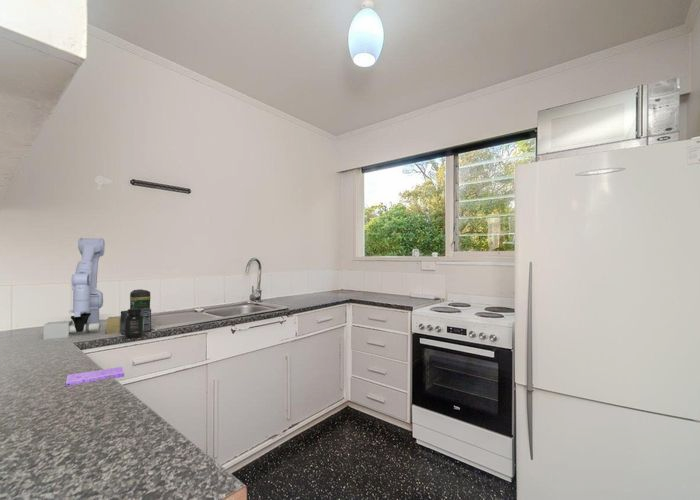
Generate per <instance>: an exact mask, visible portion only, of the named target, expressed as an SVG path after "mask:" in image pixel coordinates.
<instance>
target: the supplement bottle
mask: <svg viewBox="0 0 700 500" xmlns="http://www.w3.org/2000/svg"><path fill="white" fill-rule="evenodd" d="M127 310H128V315H127V316H126V317H125V335H124V338H125V339H138V338H142V337H144V335H145V334H144V333H145V332H144V316H143V315H142V314H141V308H132V309H130V308H128V309H127Z"/></svg>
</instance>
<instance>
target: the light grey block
mask: <svg viewBox="0 0 700 500" xmlns="http://www.w3.org/2000/svg"><path fill="white" fill-rule="evenodd" d="M69 325H74V322H73V320H62V321H49V322H47V323H45V324H44V325H43V338H42V339H43V340H44V341H47V340H56V339H65V338H67V339H68V338H70V337H72V335H73V333H69Z"/></svg>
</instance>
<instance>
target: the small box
mask: <svg viewBox="0 0 700 500" xmlns="http://www.w3.org/2000/svg"><path fill="white" fill-rule="evenodd" d="M141 314H142V315H143V316H144V333H150V332H152V308H150V309H147V308H144V309H141ZM127 315H128V309H127V310H121V311H120V316H121V331H120V335H122V336H125V317H126V316H127Z"/></svg>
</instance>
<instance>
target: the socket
mask: <svg viewBox="0 0 700 500" xmlns="http://www.w3.org/2000/svg"><path fill="white" fill-rule="evenodd" d="M105 321H106V322H105V335H109V334H110V335H111V334H112V335H113V334H121V315H119V316H109V317H107V318H106V319H105Z"/></svg>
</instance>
